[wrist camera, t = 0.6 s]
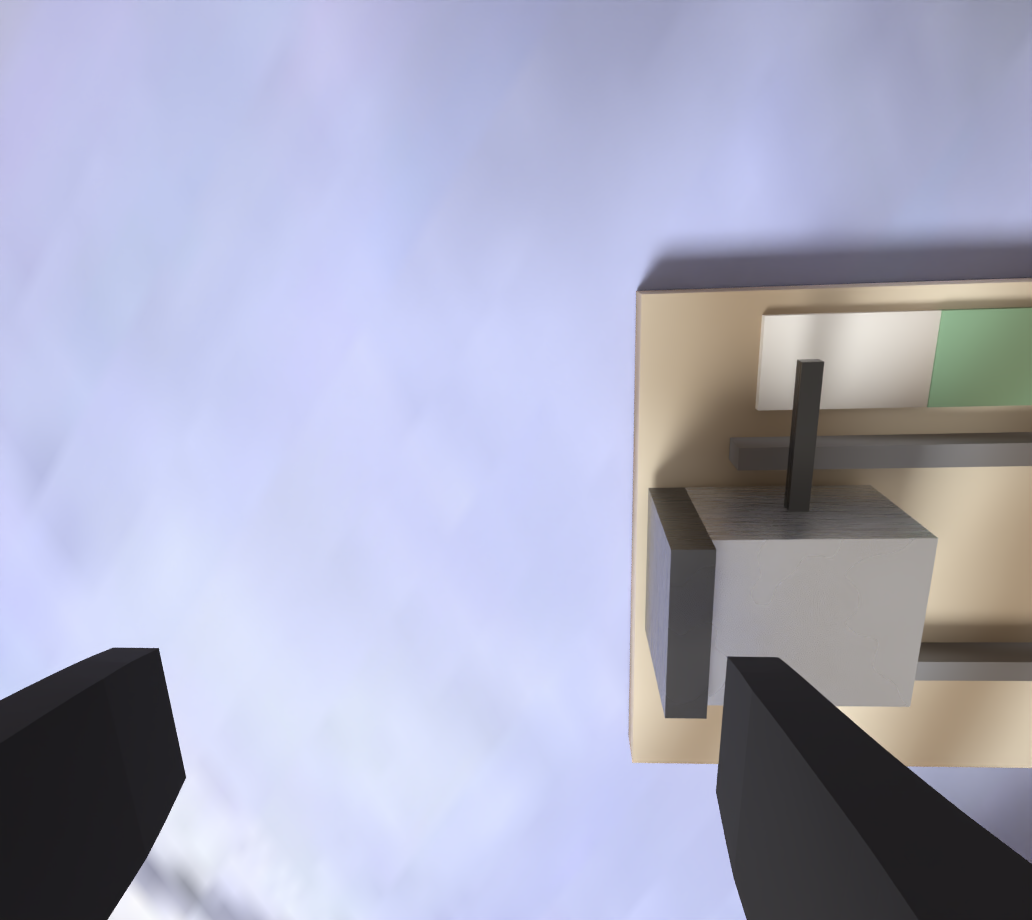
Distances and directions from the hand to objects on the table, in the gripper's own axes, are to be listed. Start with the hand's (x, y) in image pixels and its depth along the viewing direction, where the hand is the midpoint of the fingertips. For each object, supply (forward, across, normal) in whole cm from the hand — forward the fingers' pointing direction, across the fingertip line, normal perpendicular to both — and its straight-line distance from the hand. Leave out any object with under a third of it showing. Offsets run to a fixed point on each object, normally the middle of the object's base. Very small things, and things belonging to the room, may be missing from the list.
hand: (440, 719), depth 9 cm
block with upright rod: (+7, -6, 0) cm, 9 cm away
